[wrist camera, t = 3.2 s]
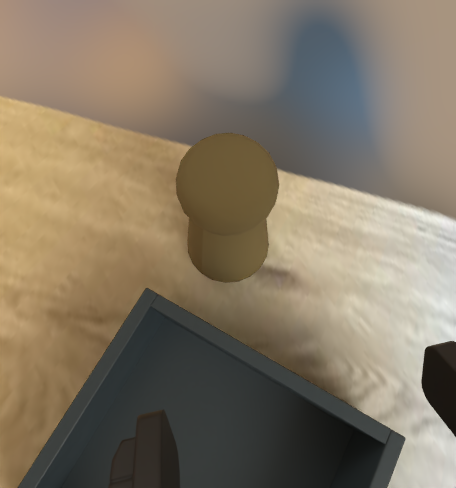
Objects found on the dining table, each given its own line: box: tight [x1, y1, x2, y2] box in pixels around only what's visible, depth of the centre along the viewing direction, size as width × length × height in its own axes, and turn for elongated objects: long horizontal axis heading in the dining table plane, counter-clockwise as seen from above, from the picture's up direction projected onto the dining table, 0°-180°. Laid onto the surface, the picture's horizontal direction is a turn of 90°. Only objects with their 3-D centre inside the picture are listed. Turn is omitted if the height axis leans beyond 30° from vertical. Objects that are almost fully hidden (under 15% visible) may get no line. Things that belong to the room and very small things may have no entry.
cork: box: [176, 133, 279, 282], centre depth 23 cm, size 6×6×11 cm
